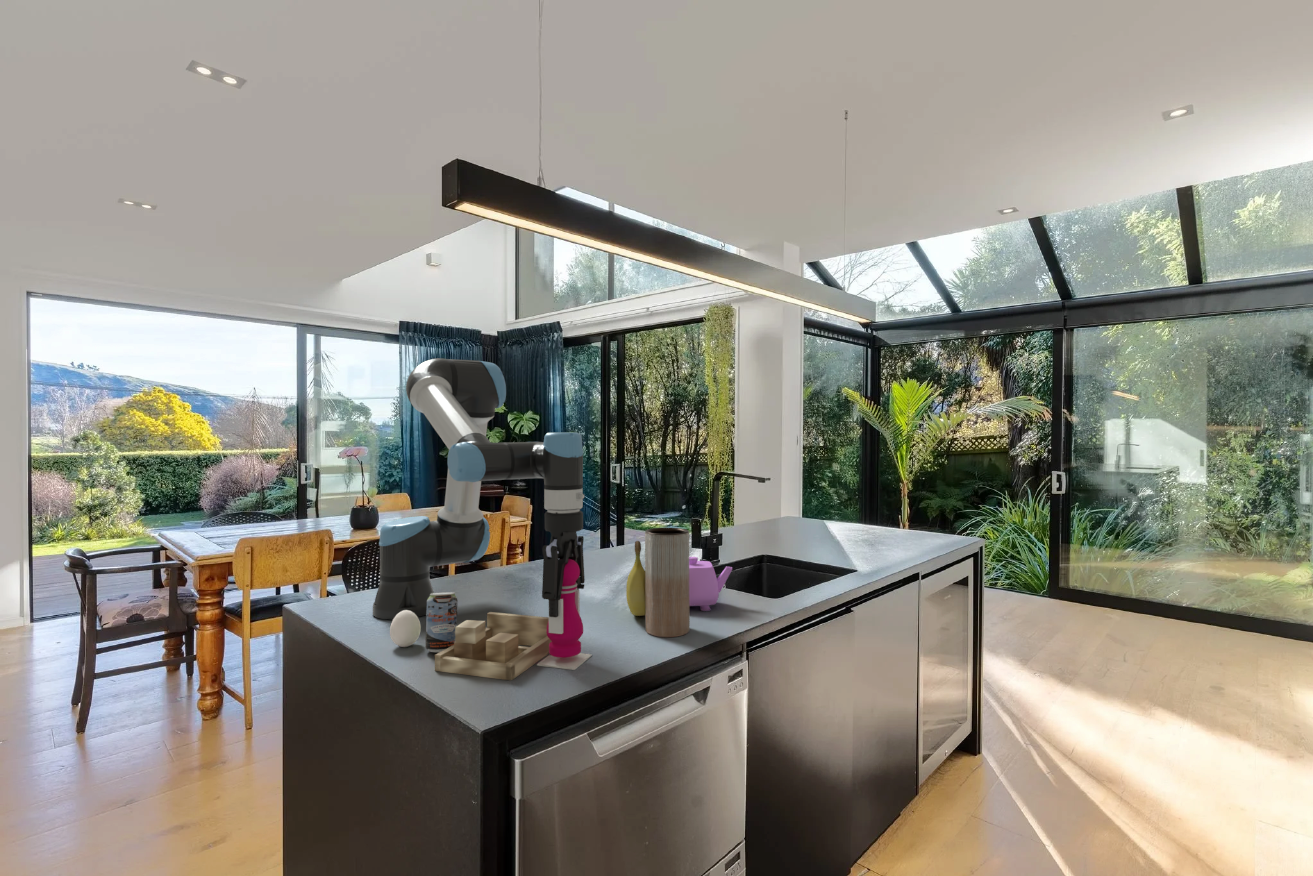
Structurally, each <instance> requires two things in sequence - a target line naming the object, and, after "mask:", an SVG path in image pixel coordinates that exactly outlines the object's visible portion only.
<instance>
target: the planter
mask: <svg viewBox="0 0 1313 876" xmlns="http://www.w3.org/2000/svg"><path fill="white" fill-rule="evenodd" d="M689 557H690V531H689V530H688V529H687V528H683V527H681V528H680V527H653V528H649V529H646V530H645V531H644V570H645V615H644V618H645V623H644V625H645V632H646V633H647V634H648V635H651V636H655V637H659V638H677V637H680V636H683V635H686V634H688V633H689V632H690V619H691V618H690V617H691V616H690V607H691V606H690V601H689Z"/></svg>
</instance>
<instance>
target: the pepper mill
mask: <svg viewBox="0 0 1313 876" xmlns="http://www.w3.org/2000/svg"><path fill="white" fill-rule="evenodd" d="M579 575H580V568H579V566H578V564H577V563H576V562H575V561H574V560H572V559H568V563H567V564H566V565H565V568H564V577H563V584H562V591H561V598H560V599H563V633H562V634H556V633H549V621H548V624H547V631H546V633H547V636H548V638H549V639H550V640H551V641H552V642H551V643H550V644H549V654H548V655H552V656H554V657H561V658H563V657H572V656H576V655H578V654H579V653H582V642H581V641H580V638H581V637H582V636H583V634H584V624H583V620H582V618H581V615H579V613H578V611H577V608H576V604H575V592H576V591H577V585H578V584H577V583H576V580H577V579H578V578H579Z"/></svg>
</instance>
